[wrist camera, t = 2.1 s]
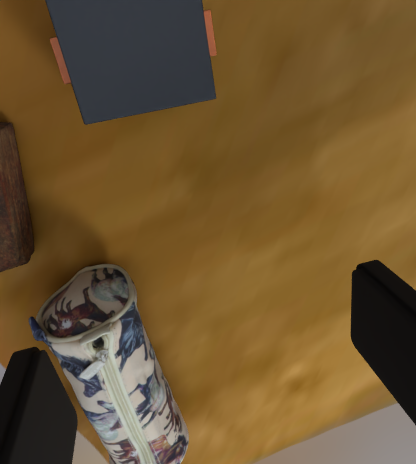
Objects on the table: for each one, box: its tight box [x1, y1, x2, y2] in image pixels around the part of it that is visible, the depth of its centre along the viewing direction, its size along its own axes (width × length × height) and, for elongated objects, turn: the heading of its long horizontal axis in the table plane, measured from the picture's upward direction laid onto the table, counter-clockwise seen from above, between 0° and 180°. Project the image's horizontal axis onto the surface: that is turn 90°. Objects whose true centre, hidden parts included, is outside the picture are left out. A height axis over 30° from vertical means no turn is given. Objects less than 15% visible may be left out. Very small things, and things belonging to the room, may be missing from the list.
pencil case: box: [29, 264, 189, 464], centre depth 34 cm, size 22×8×10 cm, turn 12°
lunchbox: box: [45, 0, 217, 125], centre depth 23 cm, size 9×7×7 cm
